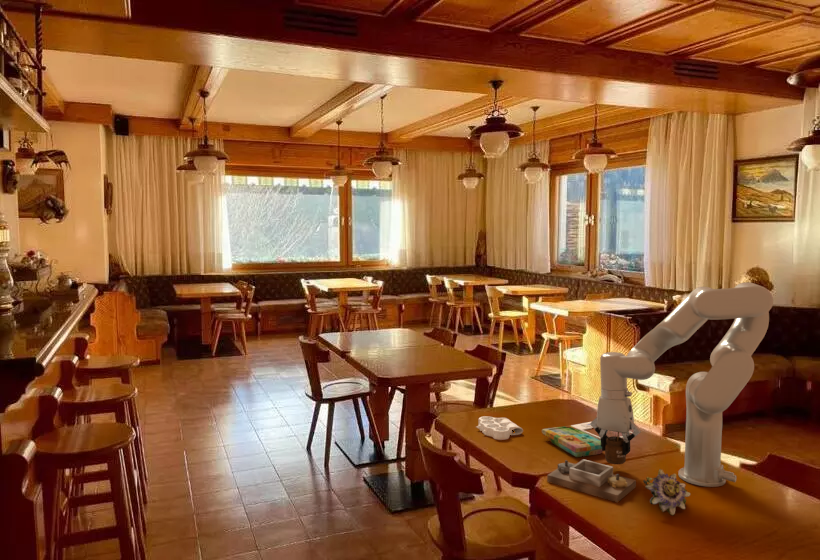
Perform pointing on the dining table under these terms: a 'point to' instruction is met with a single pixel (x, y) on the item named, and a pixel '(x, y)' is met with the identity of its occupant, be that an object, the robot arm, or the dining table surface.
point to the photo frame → (587, 426)
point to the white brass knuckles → (498, 427)
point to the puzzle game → (573, 441)
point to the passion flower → (667, 492)
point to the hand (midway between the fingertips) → (615, 451)
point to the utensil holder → (614, 450)
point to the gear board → (592, 479)
